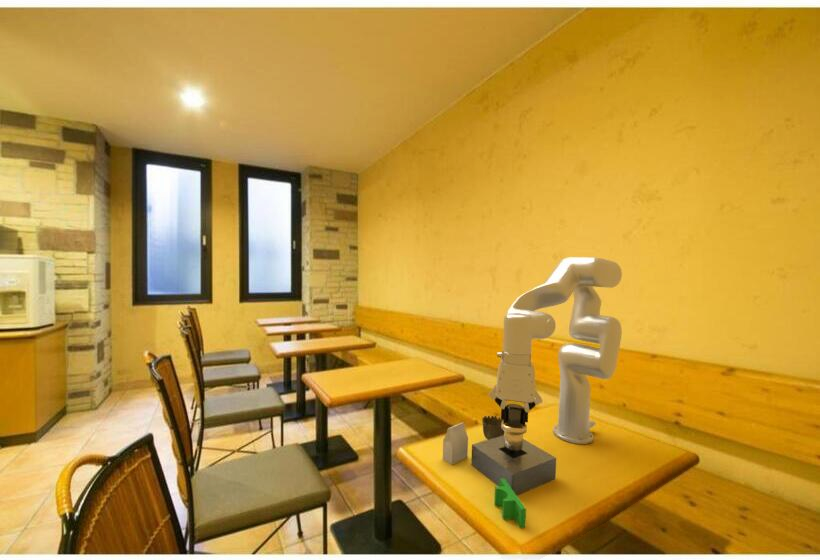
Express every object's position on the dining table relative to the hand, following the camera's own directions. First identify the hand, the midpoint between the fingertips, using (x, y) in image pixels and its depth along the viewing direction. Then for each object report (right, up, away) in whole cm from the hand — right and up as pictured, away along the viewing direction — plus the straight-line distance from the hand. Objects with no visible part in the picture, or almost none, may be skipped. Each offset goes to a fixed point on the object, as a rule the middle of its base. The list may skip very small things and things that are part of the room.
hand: (514, 422), depth 99 cm
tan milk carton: (-16, -14, +7) cm, 22 cm away
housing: (0, -14, +1) cm, 14 cm away
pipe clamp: (-6, -15, -15) cm, 22 cm away
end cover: (0, -7, 0) cm, 7 cm away
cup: (-2, -14, +16) cm, 21 cm away
